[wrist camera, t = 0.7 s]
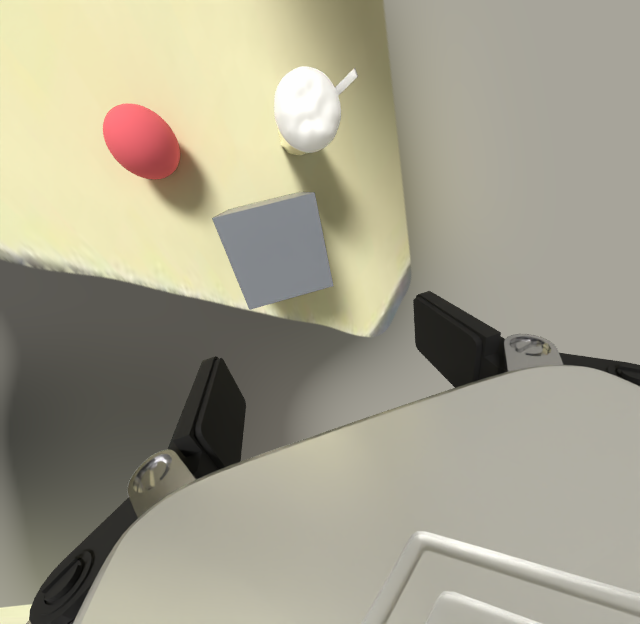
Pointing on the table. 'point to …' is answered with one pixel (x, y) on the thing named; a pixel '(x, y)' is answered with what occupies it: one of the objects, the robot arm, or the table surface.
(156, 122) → the ball
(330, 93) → the milkshake
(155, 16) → the table surface
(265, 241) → the grey cube
